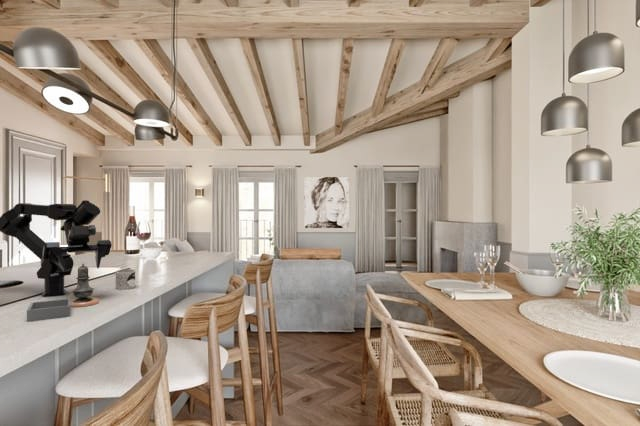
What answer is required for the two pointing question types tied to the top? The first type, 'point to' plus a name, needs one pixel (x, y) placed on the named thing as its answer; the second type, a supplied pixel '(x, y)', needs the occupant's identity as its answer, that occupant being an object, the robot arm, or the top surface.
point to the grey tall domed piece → (82, 286)
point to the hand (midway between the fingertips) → (82, 269)
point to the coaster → (85, 303)
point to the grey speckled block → (125, 279)
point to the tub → (49, 309)
